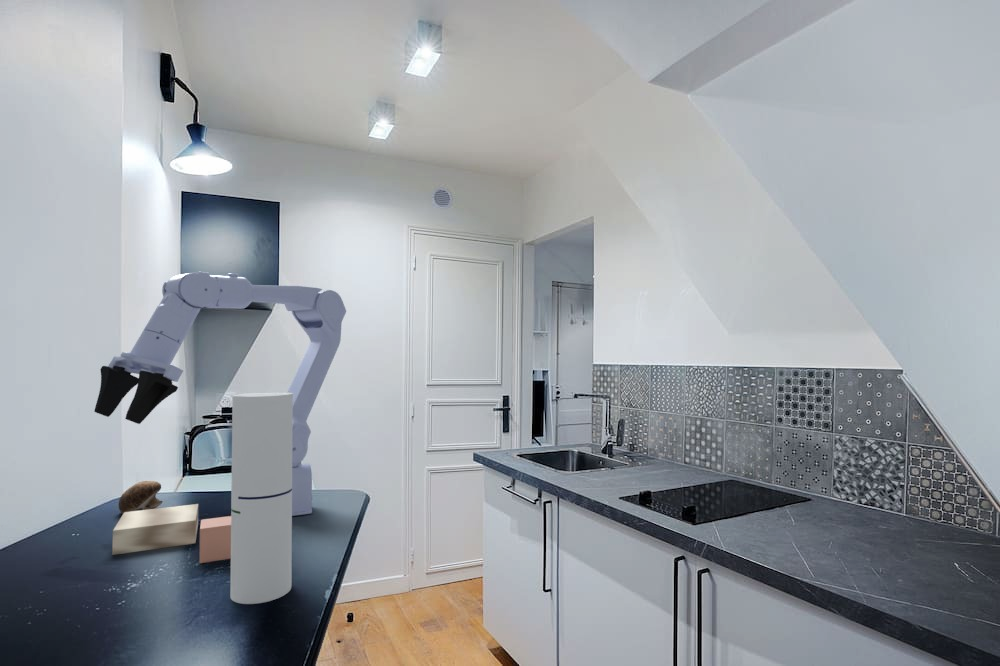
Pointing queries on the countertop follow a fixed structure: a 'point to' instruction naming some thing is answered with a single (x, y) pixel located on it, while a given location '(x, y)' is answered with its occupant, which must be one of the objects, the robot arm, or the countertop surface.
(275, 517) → the cylindrical container
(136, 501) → the mushroom
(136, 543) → the birch block
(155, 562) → the countertop surface
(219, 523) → the terracotta cube
